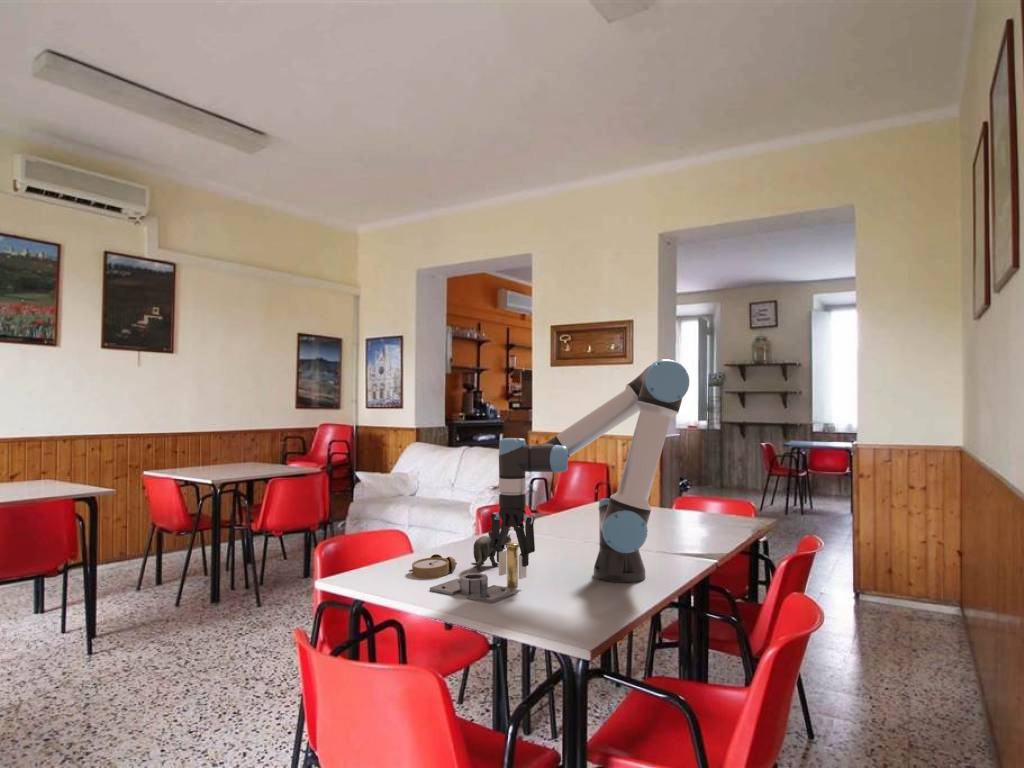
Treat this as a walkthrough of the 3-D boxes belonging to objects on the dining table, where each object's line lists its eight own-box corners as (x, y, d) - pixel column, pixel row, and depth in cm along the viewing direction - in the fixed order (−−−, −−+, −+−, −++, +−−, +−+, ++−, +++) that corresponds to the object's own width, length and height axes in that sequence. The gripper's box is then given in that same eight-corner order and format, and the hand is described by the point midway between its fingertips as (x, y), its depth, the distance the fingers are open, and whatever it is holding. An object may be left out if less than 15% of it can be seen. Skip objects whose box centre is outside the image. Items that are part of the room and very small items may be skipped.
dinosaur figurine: (474, 577, 187) (474, 539, 188) (451, 573, 192) (451, 536, 192) (513, 562, 206) (513, 527, 207) (491, 559, 210) (491, 525, 211)
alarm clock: (403, 565, 191) (438, 548, 203) (405, 581, 191) (440, 563, 203) (429, 571, 184) (464, 552, 196) (431, 587, 184) (465, 568, 196)
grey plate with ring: (457, 581, 183) (457, 567, 183) (517, 592, 171) (517, 577, 171) (429, 590, 173) (429, 575, 173) (491, 603, 161) (491, 587, 161)
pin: (521, 586, 177) (521, 543, 178) (514, 589, 174) (514, 545, 175) (510, 584, 180) (510, 542, 180) (503, 587, 176) (503, 544, 177)
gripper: (548, 494, 176) (548, 578, 175) (492, 489, 187) (493, 568, 185) (533, 496, 170) (534, 584, 169) (477, 492, 180) (477, 574, 179)
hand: (512, 576), depth 177 cm, fingers open, 6 cm apart
